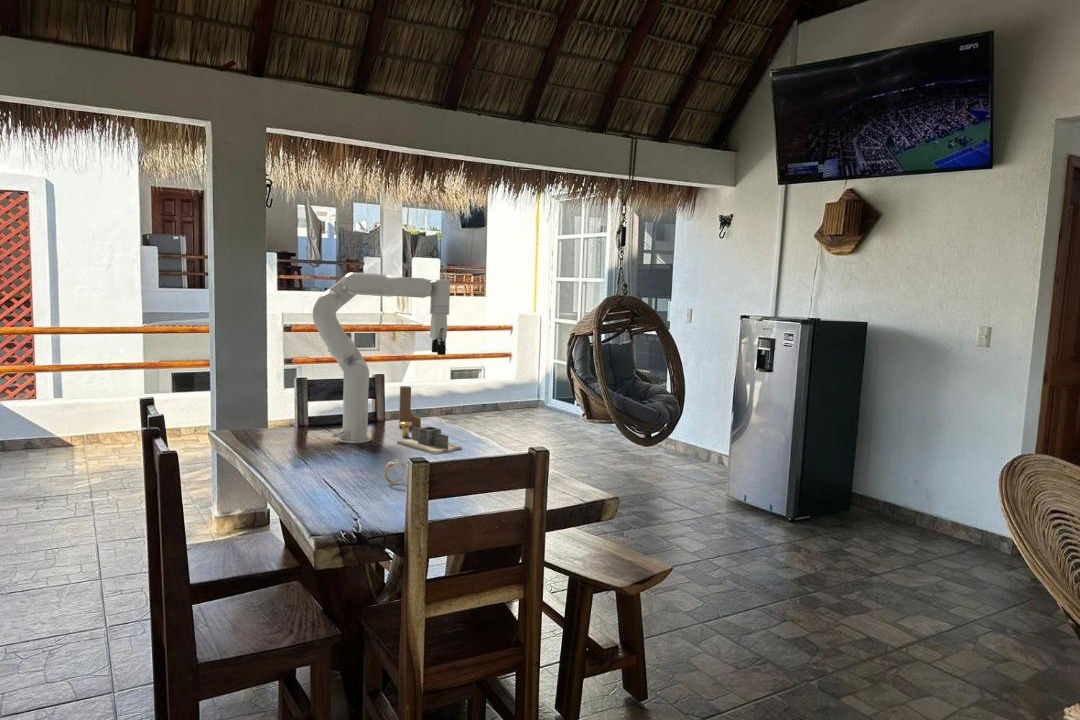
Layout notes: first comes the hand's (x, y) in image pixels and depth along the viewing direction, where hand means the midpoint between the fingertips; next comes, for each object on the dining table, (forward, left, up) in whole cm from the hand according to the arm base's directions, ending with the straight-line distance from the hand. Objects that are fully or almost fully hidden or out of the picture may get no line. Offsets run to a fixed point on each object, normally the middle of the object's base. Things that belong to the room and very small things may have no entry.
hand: (438, 353), depth 290 cm
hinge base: (-10, -8, -35) cm, 37 cm away
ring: (-52, -43, -35) cm, 76 cm away
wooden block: (+6, +25, -35) cm, 44 cm away
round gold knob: (-7, +11, -35) cm, 38 cm away
